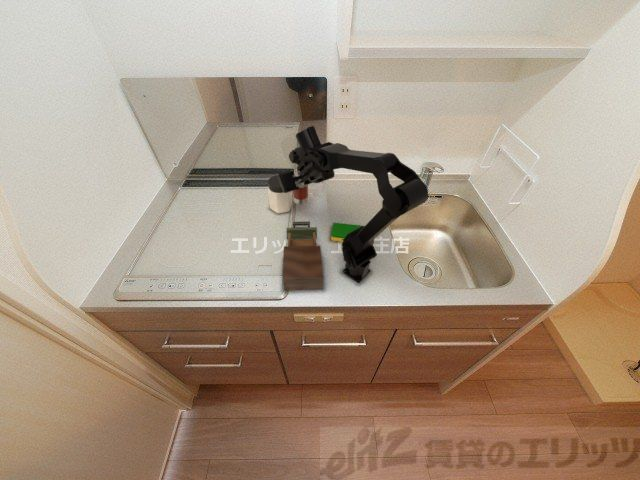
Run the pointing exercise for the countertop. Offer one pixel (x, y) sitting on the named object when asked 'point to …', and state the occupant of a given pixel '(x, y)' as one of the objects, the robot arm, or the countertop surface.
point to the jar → (278, 196)
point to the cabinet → (302, 268)
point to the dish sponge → (342, 230)
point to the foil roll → (301, 193)
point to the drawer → (302, 235)
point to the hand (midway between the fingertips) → (298, 182)
